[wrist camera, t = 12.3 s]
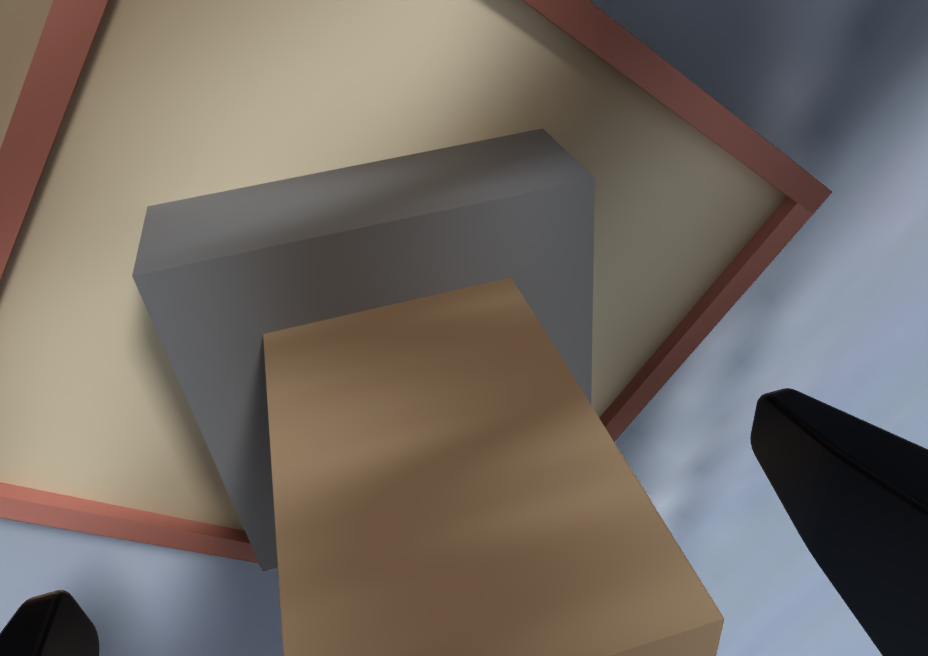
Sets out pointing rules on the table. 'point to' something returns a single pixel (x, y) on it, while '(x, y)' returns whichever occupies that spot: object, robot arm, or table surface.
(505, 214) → the stamp
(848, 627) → the table surface
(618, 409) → the board
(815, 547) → the robot arm
